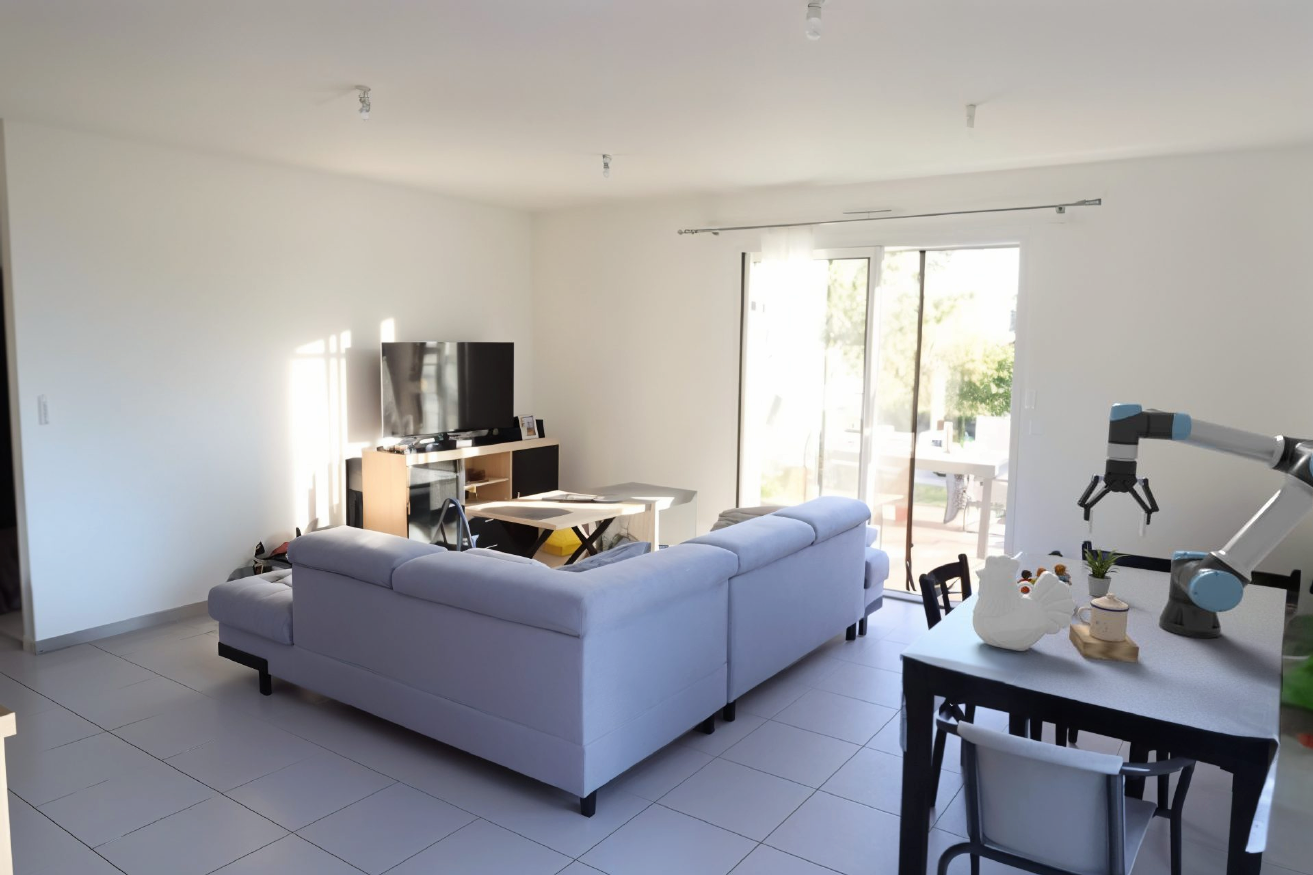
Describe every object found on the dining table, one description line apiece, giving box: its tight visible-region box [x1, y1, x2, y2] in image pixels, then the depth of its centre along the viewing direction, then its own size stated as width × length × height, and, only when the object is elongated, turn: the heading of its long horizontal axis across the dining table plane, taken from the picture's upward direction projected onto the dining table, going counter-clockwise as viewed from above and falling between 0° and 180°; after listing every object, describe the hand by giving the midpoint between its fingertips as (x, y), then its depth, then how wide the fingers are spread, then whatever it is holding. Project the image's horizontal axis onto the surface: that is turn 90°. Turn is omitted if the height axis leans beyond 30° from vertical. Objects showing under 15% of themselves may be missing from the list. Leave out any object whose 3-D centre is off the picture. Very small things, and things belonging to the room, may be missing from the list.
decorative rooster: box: [972, 553, 1077, 652], centre depth 226 cm, size 25×16×25 cm, turn 66°
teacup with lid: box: [1077, 592, 1130, 642], centre depth 227 cm, size 12×9×12 cm
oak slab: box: [1068, 623, 1140, 663], centre depth 228 cm, size 13×15×4 cm
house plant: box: [1081, 547, 1130, 598], centre depth 282 cm, size 14×14×16 cm
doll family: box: [1016, 563, 1073, 594], centre depth 268 cm, size 21×10×13 cm, turn 108°
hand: (1115, 534), depth 239 cm, fingers open, 13 cm apart
